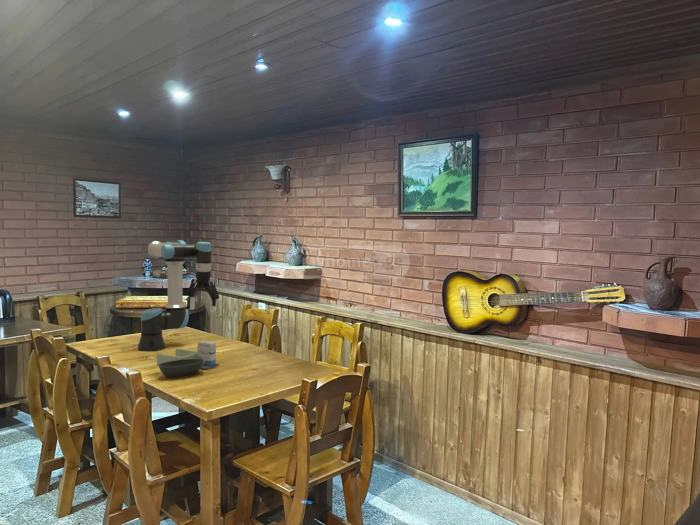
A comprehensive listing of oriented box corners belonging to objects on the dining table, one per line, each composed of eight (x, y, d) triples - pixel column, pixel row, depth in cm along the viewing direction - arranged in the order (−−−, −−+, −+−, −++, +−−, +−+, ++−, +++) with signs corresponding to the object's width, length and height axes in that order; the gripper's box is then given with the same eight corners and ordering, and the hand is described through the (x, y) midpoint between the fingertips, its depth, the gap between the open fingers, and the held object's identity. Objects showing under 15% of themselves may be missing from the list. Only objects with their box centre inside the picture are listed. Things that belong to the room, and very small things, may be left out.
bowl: (154, 375, 241) (154, 363, 241) (199, 369, 254) (199, 357, 254) (162, 381, 231) (162, 368, 231) (208, 375, 245) (208, 362, 244)
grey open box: (156, 365, 259) (156, 353, 259) (176, 359, 273) (176, 348, 272) (181, 369, 253) (182, 357, 252) (201, 363, 266) (201, 352, 266)
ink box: (216, 364, 262) (216, 342, 261) (210, 366, 257) (210, 343, 256) (202, 362, 265) (203, 340, 264) (196, 364, 260) (197, 342, 260)
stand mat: (190, 367, 257) (190, 365, 257) (203, 363, 266) (203, 361, 266) (206, 370, 253) (206, 368, 253) (218, 365, 262) (218, 364, 262)
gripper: (180, 269, 266) (179, 308, 267) (217, 273, 256) (216, 314, 257) (190, 268, 273) (189, 306, 274) (226, 272, 262) (225, 312, 264)
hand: (202, 310), depth 266 cm, fingers open, 13 cm apart
